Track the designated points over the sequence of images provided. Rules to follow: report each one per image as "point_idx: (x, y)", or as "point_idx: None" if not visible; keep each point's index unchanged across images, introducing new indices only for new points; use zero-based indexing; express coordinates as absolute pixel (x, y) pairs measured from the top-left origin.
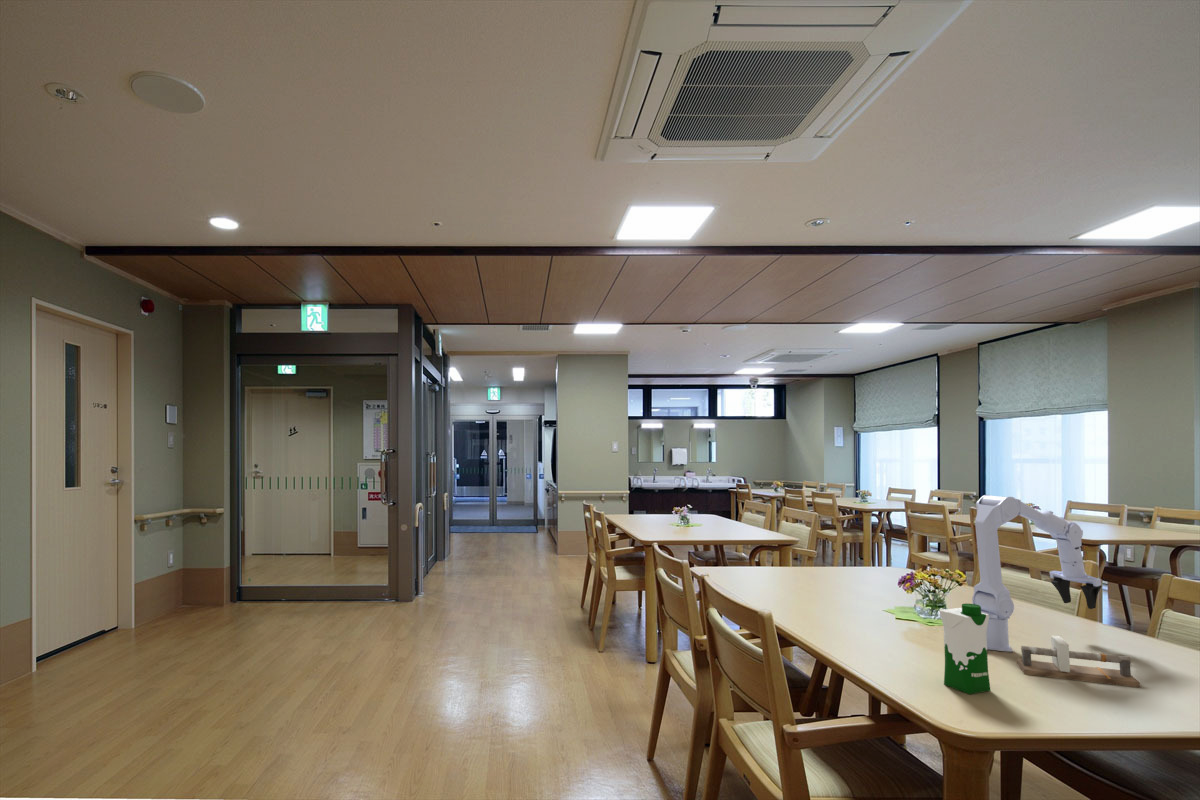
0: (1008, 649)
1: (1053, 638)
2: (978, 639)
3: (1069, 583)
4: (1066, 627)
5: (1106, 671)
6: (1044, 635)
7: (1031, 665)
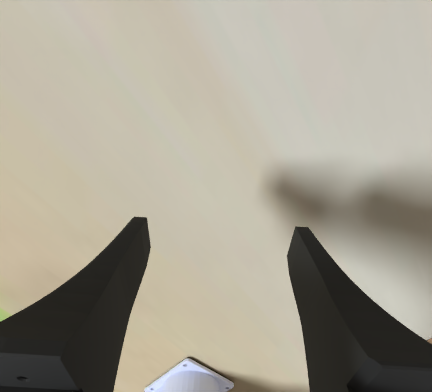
0: (225, 387)
1: None
2: None
3: (91, 311)
4: (37, 6)
5: None
6: (134, 213)
7: None
